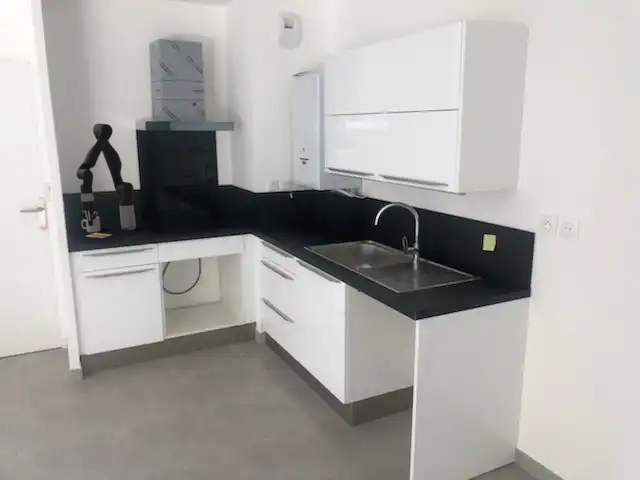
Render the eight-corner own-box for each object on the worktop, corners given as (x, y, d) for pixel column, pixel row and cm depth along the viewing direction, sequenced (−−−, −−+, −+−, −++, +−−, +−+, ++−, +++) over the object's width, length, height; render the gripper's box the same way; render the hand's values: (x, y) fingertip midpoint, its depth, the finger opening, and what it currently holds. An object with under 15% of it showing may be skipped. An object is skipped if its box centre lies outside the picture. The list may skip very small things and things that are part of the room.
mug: (102, 231, 363) (101, 215, 360) (98, 234, 354) (96, 218, 352) (84, 231, 362) (83, 216, 359) (80, 234, 354) (78, 218, 351)
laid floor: (95, 235, 352) (95, 232, 352) (113, 236, 348) (113, 234, 348) (84, 238, 342) (84, 236, 341) (102, 240, 338) (102, 238, 338)
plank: (95, 234, 351) (95, 232, 351) (104, 235, 350) (104, 233, 349) (85, 237, 342) (85, 235, 342) (94, 238, 340) (94, 237, 340)
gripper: (100, 199, 341) (103, 225, 345) (83, 198, 344) (86, 224, 349) (92, 201, 334) (95, 227, 338) (75, 200, 337) (78, 226, 342)
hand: (90, 225), depth 343 cm, fingers closed
